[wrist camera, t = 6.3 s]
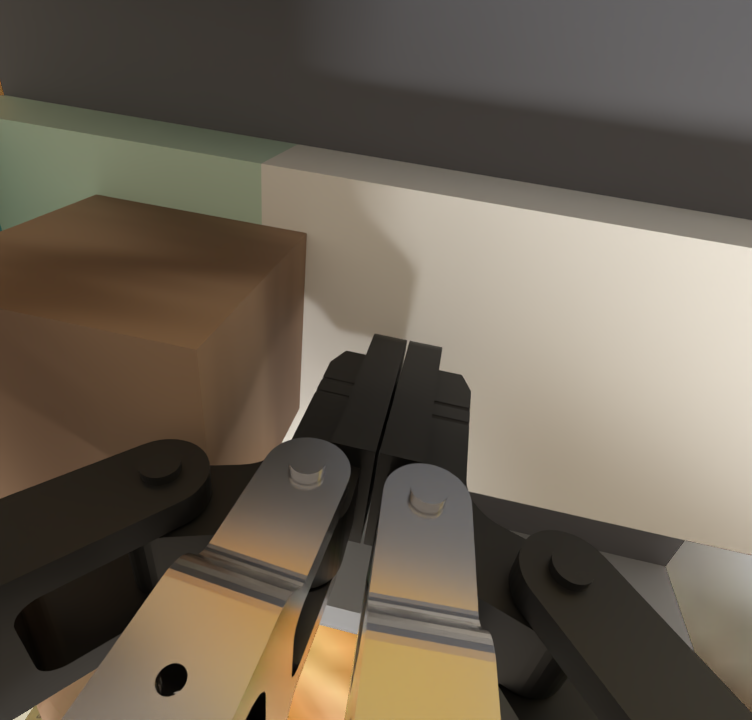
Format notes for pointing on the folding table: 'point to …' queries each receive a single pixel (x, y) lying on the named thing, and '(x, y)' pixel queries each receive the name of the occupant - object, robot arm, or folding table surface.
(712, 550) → the folding table surface
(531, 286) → the trap track
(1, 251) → the walnut block
